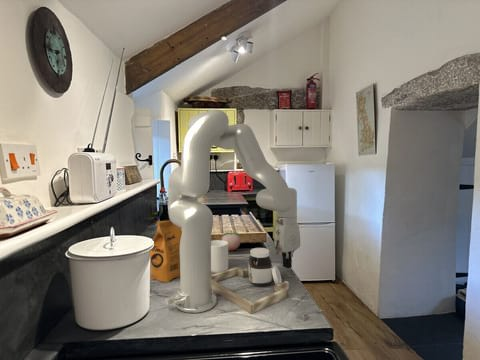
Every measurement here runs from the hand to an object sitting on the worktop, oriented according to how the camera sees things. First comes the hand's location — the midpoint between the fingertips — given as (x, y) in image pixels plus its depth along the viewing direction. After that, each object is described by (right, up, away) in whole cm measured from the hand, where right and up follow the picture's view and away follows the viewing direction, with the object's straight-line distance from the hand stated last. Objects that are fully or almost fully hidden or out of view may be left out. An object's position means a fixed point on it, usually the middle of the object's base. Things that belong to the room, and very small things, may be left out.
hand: (287, 267), depth 111 cm
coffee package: (-46, -3, -1) cm, 46 cm away
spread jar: (-9, -4, -8) cm, 12 cm away
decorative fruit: (-22, -1, +27) cm, 35 cm away
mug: (-27, -3, +7) cm, 28 cm away
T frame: (-15, -4, -12) cm, 20 cm away
